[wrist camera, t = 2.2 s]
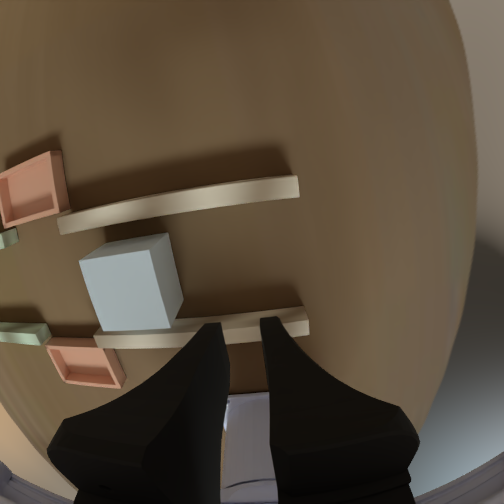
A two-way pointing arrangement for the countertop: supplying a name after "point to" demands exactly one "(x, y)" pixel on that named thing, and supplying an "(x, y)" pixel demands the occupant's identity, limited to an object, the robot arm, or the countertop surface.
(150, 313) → the block
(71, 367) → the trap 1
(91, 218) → the track
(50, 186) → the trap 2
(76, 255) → the countertop surface
